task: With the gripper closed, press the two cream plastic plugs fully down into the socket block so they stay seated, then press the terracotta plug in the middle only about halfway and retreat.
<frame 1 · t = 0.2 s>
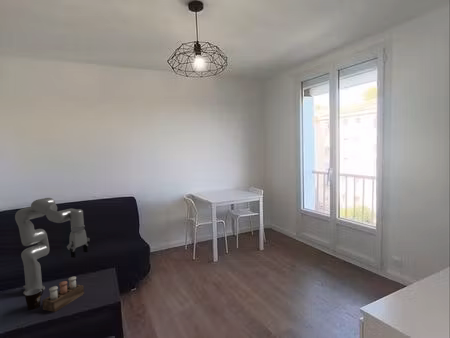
hand: (79, 254, 181), 30 cm above the table, fingers open, 9 cm apart
cream plug b: (72, 283, 187), point 8 cm above the table, slide at 0.0 cm
terracotta plug: (63, 288, 181), point 8 cm above the table, slide at 0.0 cm
coffee mug: (36, 306, 177), on the table
cream plug a: (53, 294, 174), point 8 cm above the table, slide at 0.0 cm
socket block: (64, 301, 181), on the table
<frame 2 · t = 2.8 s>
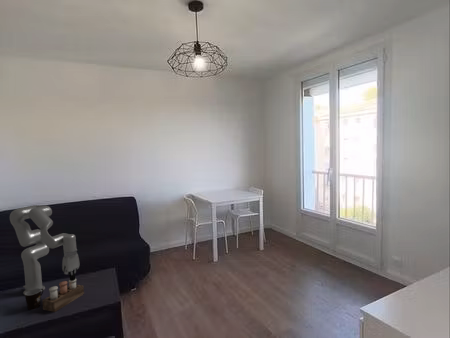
hand: (72, 279, 187), 11 cm above the table, fingers closed
cream plug b: (72, 285, 188), point 7 cm above the table, slide at 1.3 cm, touching gripper
everything else where it was.
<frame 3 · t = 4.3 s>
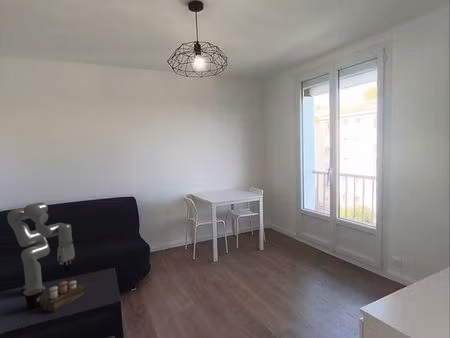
hand: (67, 270, 184), 19 cm above the table, fingers closed
cream plug b: (72, 287, 188), point 6 cm above the table, slide at 2.8 cm
everything else where it was.
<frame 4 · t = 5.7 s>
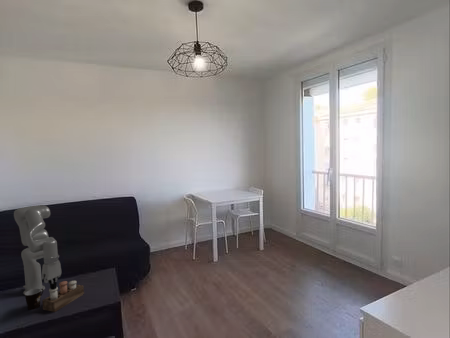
hand: (53, 288, 174), 12 cm above the table, fingers closed
cream plug a: (53, 294, 174), point 8 cm above the table, slide at 0.5 cm, touching gripper
everything else where it was.
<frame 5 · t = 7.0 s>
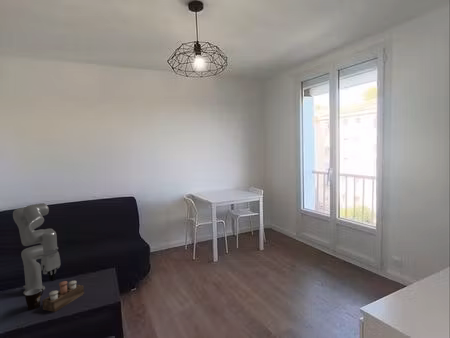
hand: (52, 280, 174), 17 cm above the table, fingers closed
cream plug a: (54, 298, 174), point 6 cm above the table, slide at 2.8 cm
everything else where it was.
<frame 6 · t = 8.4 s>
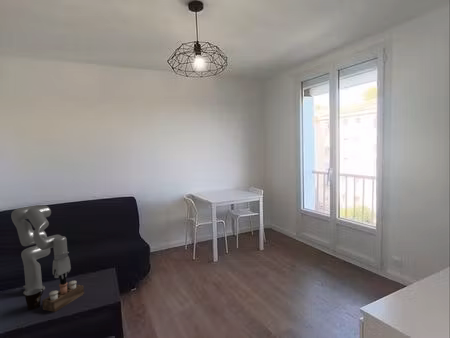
hand: (63, 283, 180), 12 cm above the table, fingers closed
terracotta plug: (63, 289, 181), point 8 cm above the table, slide at 0.6 cm, touching gripper
everything else where it was.
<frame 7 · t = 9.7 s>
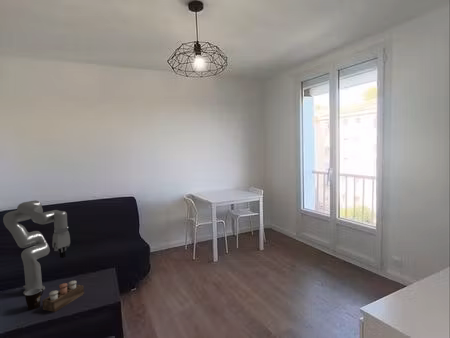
hand: (62, 257, 185), 27 cm above the table, fingers closed
terracotta plug: (63, 290, 181), point 7 cm above the table, slide at 1.4 cm
everything else where it was.
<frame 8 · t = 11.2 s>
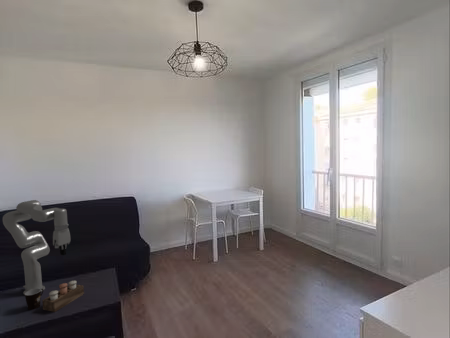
hand: (63, 254, 186), 29 cm above the table, fingers closed
nothing on the table moved.
at the end: cream plug b slide at 2.8 cm; cream plug a slide at 2.8 cm; terracotta plug slide at 1.4 cm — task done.
